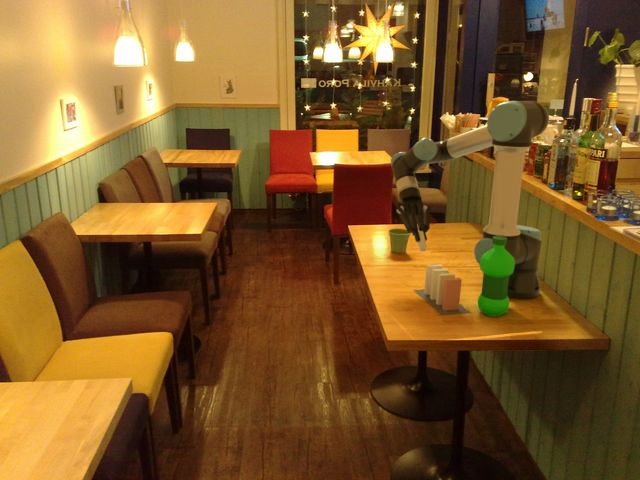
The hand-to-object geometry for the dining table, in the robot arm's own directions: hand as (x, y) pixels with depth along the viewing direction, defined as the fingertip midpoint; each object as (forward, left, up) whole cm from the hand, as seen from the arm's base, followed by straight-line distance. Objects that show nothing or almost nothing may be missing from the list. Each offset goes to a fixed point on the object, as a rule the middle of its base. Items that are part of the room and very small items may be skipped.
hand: (423, 249), depth 209 cm
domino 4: (-4, +22, -13) cm, 26 cm away
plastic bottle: (-17, +25, -14) cm, 33 cm away
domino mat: (-3, +15, -14) cm, 20 cm away
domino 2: (-3, +13, -13) cm, 18 cm away
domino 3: (-3, +17, -13) cm, 22 cm away
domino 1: (-2, +8, -13) cm, 16 cm away
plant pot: (-1, -41, -14) cm, 43 cm away
